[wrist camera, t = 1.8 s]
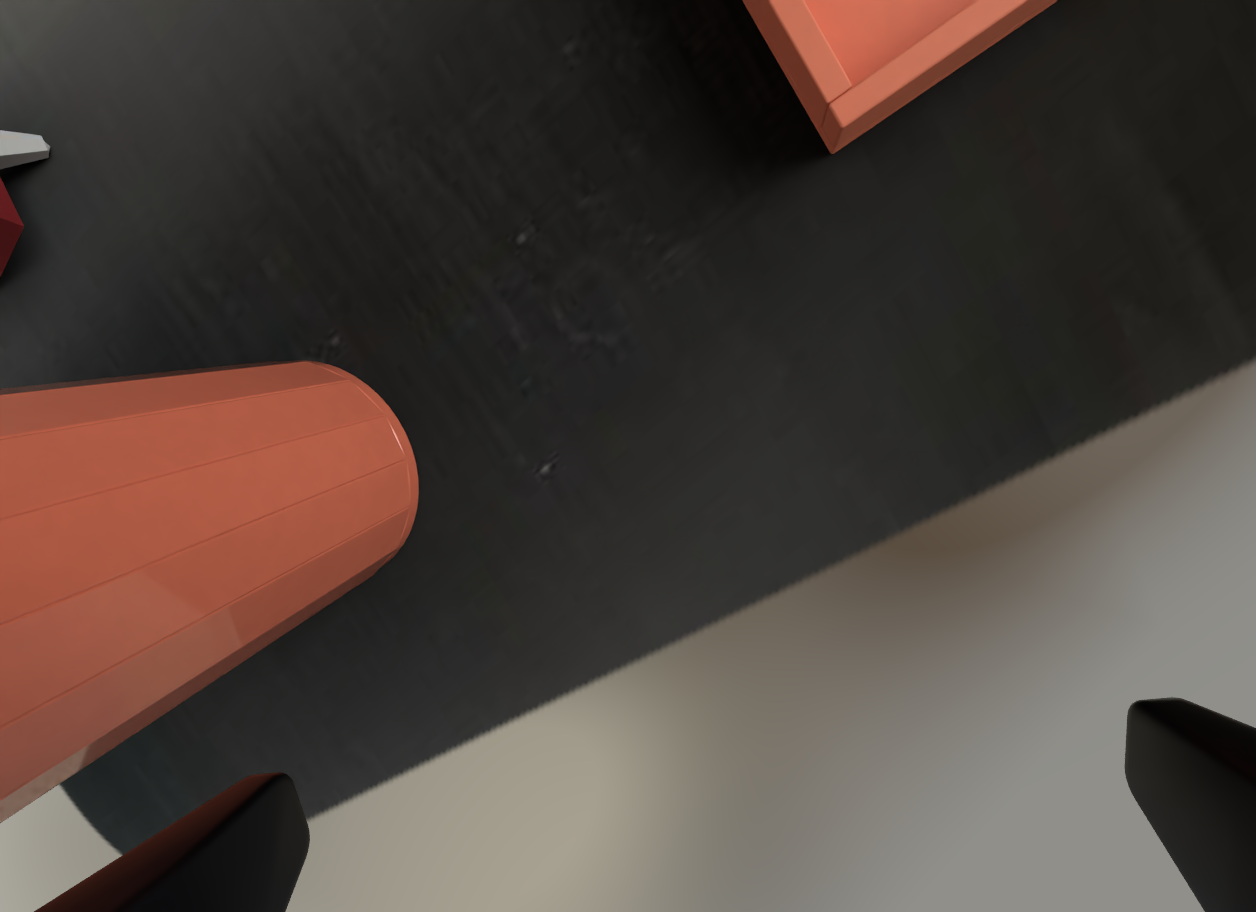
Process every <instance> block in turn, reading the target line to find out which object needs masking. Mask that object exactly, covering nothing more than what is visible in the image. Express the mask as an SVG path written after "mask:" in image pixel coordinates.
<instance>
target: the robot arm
mask: <svg viewBox="0 0 1256 912" xmlns="http://www.w3.org/2000/svg"><path fill="white" fill-rule="evenodd" d="M1125 774H1126V779H1127V782H1128V785H1129V788H1130V790H1131V792H1132V794H1133V796H1134V798H1135V800H1136V801H1137V803H1138V805H1139V806H1140V808H1141V809H1142V811H1143V813H1144V814H1145V816H1146V817H1147V819H1148V821H1149V822H1150V824H1151V825H1152V827H1153V829H1154V830H1155V832H1156V834H1157V835H1158V837H1159V838H1160V840H1161V842H1162V843H1163V845H1164V846H1165V848H1166V849H1167V851H1168V853H1169V854H1170V856H1171V858H1172V859H1173V861H1174V863H1175V864H1176V865H1177V867H1178V869H1179V871H1180V872H1181V874H1182V875H1183V877H1184V879H1185V880H1186V882H1187V883H1188V885H1189V887H1190V888H1191V890H1192V892H1193V893H1194V895H1195V896H1196V898H1197V900H1198V901H1199V903H1200V904H1201V906H1202V908H1203V909H1204V911H1205V912H1256V728H1254V727H1252V726H1249V725H1247V724H1244V723H1242V722H1239V721H1237V720H1234V719H1232V718H1229V717H1227V716H1224V715H1222V714H1219V713H1217V712H1214V711H1212V710H1209V709H1207V708H1204V707H1202V706H1199V705H1197V704H1194V703H1192V702H1190V701H1187V700H1184V699H1181V698H1161V699H1149V700H1139V701H1136V702H1134V703H1133V704H1132V705H1131V706H1130V708H1129V710H1128V715H1127V734H1126V753H1125ZM309 841H310V835H309V828H308V824H307V821H306V818H305V815H304V812H303V809H302V806H301V803H300V800H299V797H298V795H297V792H296V789H295V786H294V783H293V781H292V779H291V778H290V777H289V776H288V775H287V774H284V773H268V774H256V775H251V776H248V777H246V778H244V779H243V780H241V781H239V782H238V783H236V784H235V785H233V786H232V787H230V788H228V789H227V790H225V791H224V792H222V793H221V794H219V795H217V796H216V797H214V798H213V799H211V800H209V801H208V802H206V803H205V804H203V805H202V806H200V807H198V808H197V809H195V810H194V811H192V812H191V813H189V814H187V815H186V816H184V817H183V818H181V819H179V820H178V821H176V822H175V823H173V824H172V825H170V826H168V827H167V828H165V829H164V830H162V831H161V832H159V833H157V834H156V835H154V836H153V837H151V838H150V839H148V840H146V841H145V842H143V843H142V844H140V845H138V846H137V847H135V848H134V849H132V850H131V851H129V852H127V853H126V854H124V855H123V856H121V857H120V858H118V859H116V860H115V861H113V862H112V863H110V864H109V865H107V866H105V867H104V868H102V869H101V870H99V871H97V872H96V873H94V874H93V875H91V876H90V877H88V878H86V879H85V880H83V881H82V882H80V883H79V884H77V885H76V886H74V887H72V888H71V889H69V890H68V891H66V892H64V893H63V894H61V895H60V896H58V897H56V898H55V899H53V900H52V901H50V902H49V903H47V904H46V905H44V906H42V907H41V908H39V909H38V910H36V911H34V912H285V911H286V909H287V906H288V903H289V901H290V898H291V895H292V893H293V890H294V887H295V885H296V882H297V880H298V877H299V874H300V872H301V869H302V866H303V864H304V861H305V859H306V856H307V853H308V848H309Z"/></svg>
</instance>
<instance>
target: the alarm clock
mask: <svg viewBox="0 0 1256 912" xmlns="http://www.w3.org/2000/svg"><path fill="white" fill-rule="evenodd" d="M50 147H51V146H49V145H48V144H47V143H46V142H44V140H43V138H42V136H40V135H32V134H25V133H17V132H10V131H2V130H0V169H4V168H8V167H12V166H16V165H20V164H25V163H29V162H33V161H37V160H41V159H45V158H49V151H50ZM23 228H24V225H23V223H22V221H21V219H20V217H19V215H18V213H17V211H16V209H15V207H14V205H13V202H12V200H11V198H10V196H9V194H8V192H7V190H6V188H5V186H4V184H3V182H2V180H1V178H0V277H1V275H2V273H3V270H4V268H5V266H6V264H7V262H8V260H9V258H10V256H11V253H12V251H13V249H14V247H15V245H16V243H17V241H18V239H19V236H20V234H21V232H22V230H23Z"/></svg>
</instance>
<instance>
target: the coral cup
mask: <svg viewBox="0 0 1256 912" xmlns="http://www.w3.org/2000/svg"><path fill="white" fill-rule="evenodd" d="M418 496H419V482H418V472H417V466H416V461H415V457H414V454H413V450H412V447H411V444H410V442H409V440H408V437H407V435H406V433H405V431H404V429H403V427H402V425H401V423H400V422H399V420H398V418H397V417H396V415H395V414H394V413H393V411H392V410H391V408H390V407H389V406H388V405H387V404H386V402H385V401H384V400H383V399H382V398H381V397H380V396H379V395H378V394H377V393H376V392H375V391H374V390H373V389H371V388H370V387H369V386H368V385H367V384H365V383H364V382H363V381H361V380H360V379H358V378H357V377H355V376H354V375H352V374H350V373H348V372H346V371H344V370H342V369H340V368H337V367H334V366H331V365H329V364H325V363H320V362H316V361H305V360H296V361H284V362H260V363H250V364H240V365H230V366H220V367H210V368H200V369H191V370H181V371H171V372H161V373H151V374H141V375H132V376H122V377H112V378H102V379H92V380H82V381H72V382H63V383H53V384H43V385H33V386H23V387H13V388H4V389H0V823H1V822H3V821H4V820H6V819H7V818H9V817H10V816H12V815H13V814H15V813H16V812H18V811H19V810H21V809H22V808H24V807H25V806H27V805H28V804H30V803H31V802H33V801H34V800H36V799H37V798H39V797H40V796H42V795H43V794H45V793H46V792H48V791H49V790H51V789H52V788H54V787H55V786H57V785H58V784H60V783H61V782H63V781H64V780H66V779H67V778H69V777H70V776H72V775H73V774H75V773H76V772H78V771H79V770H81V769H82V768H84V767H85V766H87V765H88V764H90V763H91V762H93V761H94V760H96V759H98V758H99V757H101V756H102V755H104V754H105V753H107V752H108V751H110V750H111V749H113V748H114V747H116V746H117V745H119V744H120V743H122V742H123V741H125V740H126V739H128V738H129V737H131V736H132V735H134V734H135V733H137V732H138V731H140V730H141V729H143V728H144V727H146V726H147V725H149V724H150V723H152V722H153V721H155V720H156V719H158V718H159V717H161V716H162V715H164V714H165V713H167V712H168V711H170V710H171V709H173V708H174V707H176V706H177V705H179V704H180V703H182V702H183V701H185V700H186V699H188V698H189V697H191V696H192V695H194V694H195V693H197V692H198V691H200V690H201V689H203V688H204V687H206V686H207V685H209V684H210V683H212V682H213V681H215V680H216V679H218V678H219V677H221V676H222V675H224V674H225V673H227V672H228V671H230V670H231V669H233V668H234V667H236V666H237V665H239V664H240V663H242V662H243V661H245V660H246V659H248V658H249V657H251V656H252V655H254V654H255V653H257V652H258V651H260V650H261V649H263V648H264V647H266V646H267V645H269V644H270V643H272V642H273V641H275V640H276V639H278V638H279V637H281V636H282V635H284V634H285V633H287V632H288V631H290V630H291V629H293V628H294V627H296V626H297V625H299V624H300V623H302V622H303V621H305V620H306V619H308V618H309V617H311V616H312V615H314V614H315V613H317V612H318V611H320V610H321V609H323V608H324V607H326V606H327V605H329V604H330V603H332V602H333V601H335V600H336V599H338V598H339V597H341V596H342V595H344V594H345V593H347V592H348V591H350V590H351V589H353V588H355V587H356V586H358V585H359V584H361V583H362V582H364V581H365V580H367V579H368V578H370V577H371V576H372V575H373V574H374V573H375V572H376V571H377V570H378V569H379V568H381V567H382V566H384V565H385V564H386V563H387V562H388V561H390V560H391V559H392V558H393V557H394V556H395V555H396V553H397V552H398V551H399V550H400V548H401V547H402V546H403V544H404V542H405V540H406V539H407V537H408V535H409V533H410V530H411V528H412V525H413V523H414V520H415V515H416V511H417V507H418Z"/></svg>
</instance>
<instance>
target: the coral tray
mask: <svg viewBox="0 0 1256 912" xmlns="http://www.w3.org/2000/svg"><path fill="white" fill-rule="evenodd" d="M742 1H743V3H744V4H745V6H746V8H747V10H748V11H749V13H750V15H751V17H752V18H753V20H754V22H755V24H756V25H757V27H758V29H759V30H760V32H761V34H762V36H763V37H764V39H765V41H766V43H767V44H768V46H769V48H770V50H771V51H772V53H773V55H774V56H775V58H776V60H777V62H778V63H779V65H780V67H781V69H782V70H783V72H784V74H785V75H786V77H787V79H788V81H789V82H790V84H791V86H792V88H793V89H794V91H795V93H796V95H797V96H798V98H799V100H800V101H801V103H802V105H803V107H804V108H805V110H806V112H807V114H808V115H809V117H810V119H811V121H812V122H813V124H814V126H815V127H816V129H817V131H818V133H819V134H820V136H821V138H822V140H823V141H824V143H825V145H826V147H827V148H828V150H829V152H830V153H831V154H834V153H835V152H837V151H838V150H840V149H841V148H843V147H844V146H846V145H847V144H849V143H850V142H852V141H853V140H854V139H856V138H857V137H859V136H860V135H862V134H863V133H865V132H866V131H868V130H869V129H871V128H872V127H874V126H875V125H876V124H878V123H879V122H881V121H882V120H884V119H885V118H887V117H888V116H890V115H891V114H893V113H894V112H895V111H897V110H898V109H900V108H901V107H903V106H904V105H906V104H907V103H909V102H910V101H912V100H913V99H915V98H916V97H917V96H919V95H920V94H922V93H923V92H925V91H926V90H928V89H929V88H931V87H932V86H934V85H935V84H936V83H938V82H939V81H941V80H942V79H944V78H945V77H947V76H948V75H950V74H951V73H953V72H954V71H956V70H957V69H958V68H960V67H961V66H963V65H964V64H966V63H967V62H969V61H970V60H972V59H973V58H975V57H976V56H978V55H979V54H980V53H982V52H983V51H985V50H986V49H988V48H989V47H991V46H992V45H994V44H995V43H997V42H998V41H999V40H1001V39H1002V38H1004V37H1005V36H1007V35H1008V34H1010V33H1011V32H1013V31H1014V30H1016V29H1017V28H1019V27H1020V26H1021V25H1023V24H1024V23H1026V22H1027V21H1029V20H1030V19H1032V18H1033V17H1035V16H1036V15H1038V14H1039V13H1040V12H1042V11H1043V10H1045V9H1046V8H1048V7H1049V6H1051V5H1052V4H1054V3H1055V2H1057V1H1058V0H742Z"/></svg>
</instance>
